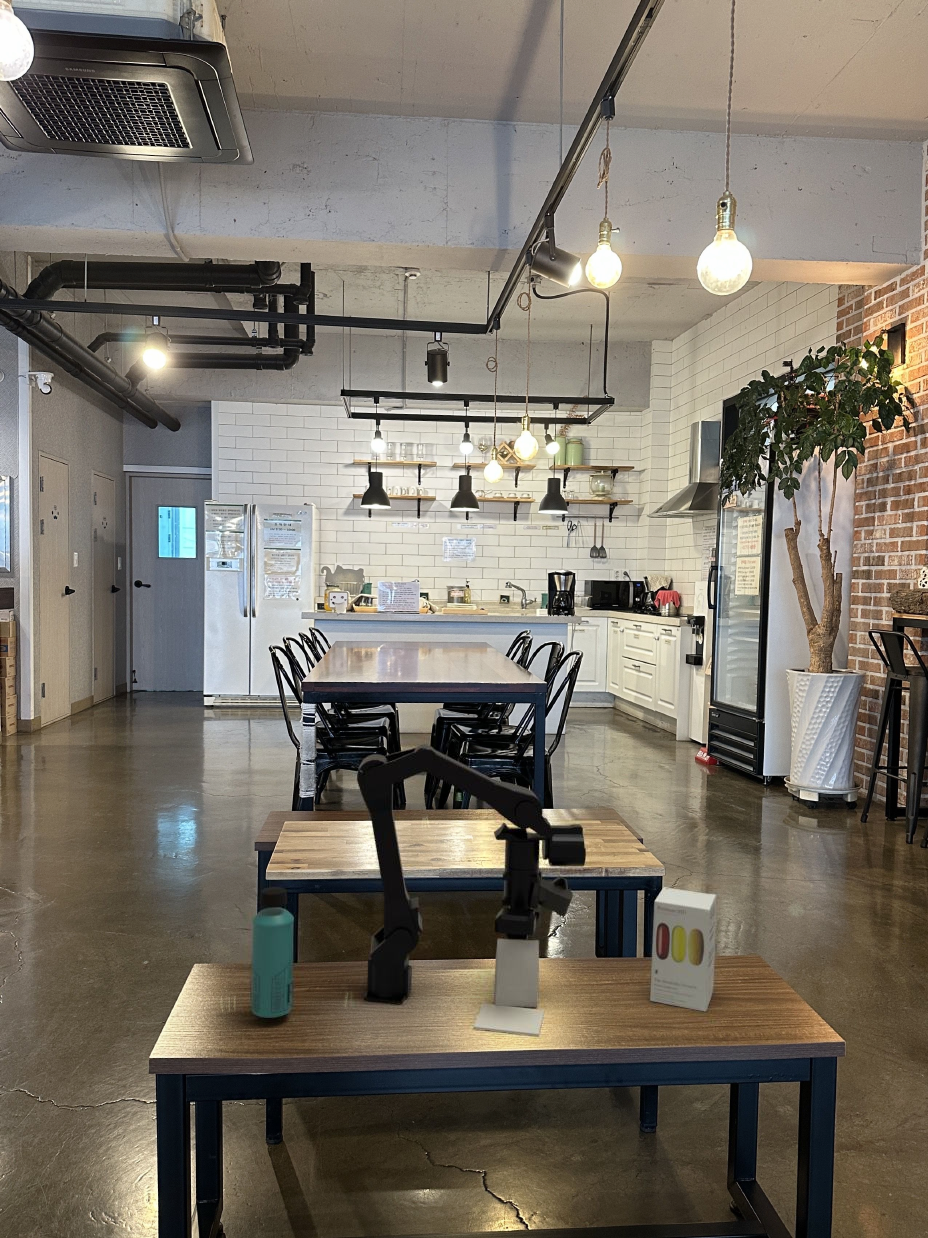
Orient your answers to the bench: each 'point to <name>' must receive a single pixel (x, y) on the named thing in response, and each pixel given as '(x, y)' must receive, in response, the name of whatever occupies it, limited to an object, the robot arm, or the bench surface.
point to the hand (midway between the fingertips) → (519, 959)
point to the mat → (509, 1019)
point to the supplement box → (683, 948)
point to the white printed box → (516, 973)
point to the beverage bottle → (272, 956)
